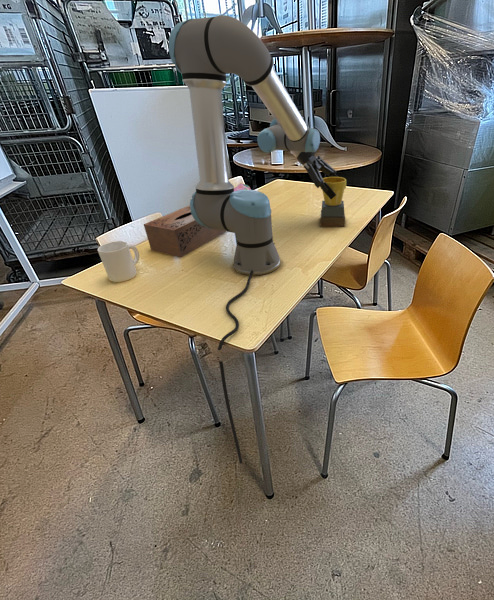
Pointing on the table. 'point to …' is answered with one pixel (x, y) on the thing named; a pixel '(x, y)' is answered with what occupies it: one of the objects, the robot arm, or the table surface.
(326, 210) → the top block
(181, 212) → the tissue box cover
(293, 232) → the table surface
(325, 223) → the base block
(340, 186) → the flower pot
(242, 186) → the pencil case
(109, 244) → the mug
